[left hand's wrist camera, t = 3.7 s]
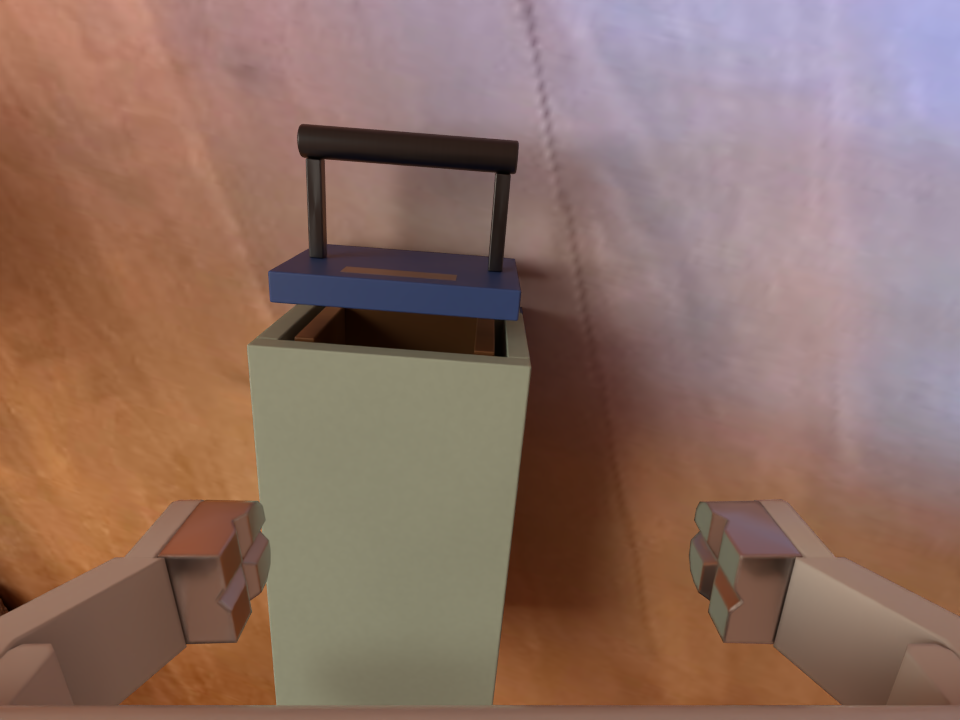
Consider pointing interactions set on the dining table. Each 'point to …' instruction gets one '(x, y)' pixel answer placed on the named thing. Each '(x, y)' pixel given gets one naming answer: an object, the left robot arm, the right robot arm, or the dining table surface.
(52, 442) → the dining table surface
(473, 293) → the drawer
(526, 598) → the dining table surface
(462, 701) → the sage green box
